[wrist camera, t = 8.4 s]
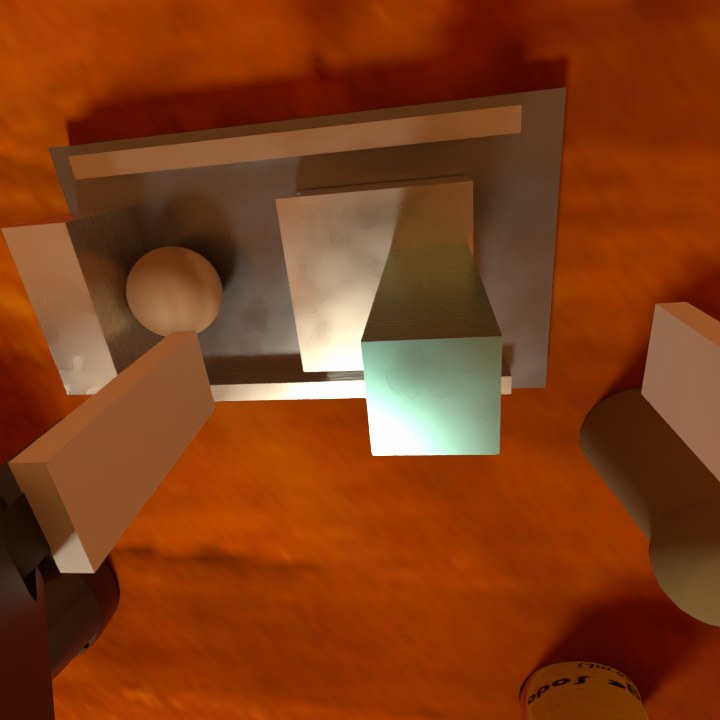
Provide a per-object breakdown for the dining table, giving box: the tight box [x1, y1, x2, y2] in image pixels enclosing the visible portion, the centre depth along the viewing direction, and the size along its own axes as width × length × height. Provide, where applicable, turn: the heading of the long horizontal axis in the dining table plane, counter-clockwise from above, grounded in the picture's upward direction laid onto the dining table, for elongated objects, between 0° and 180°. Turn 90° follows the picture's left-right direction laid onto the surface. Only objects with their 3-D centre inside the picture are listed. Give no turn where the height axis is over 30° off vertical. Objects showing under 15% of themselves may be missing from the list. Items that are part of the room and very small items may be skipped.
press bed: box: [1, 87, 566, 401], centre depth 23 cm, size 24×14×6 cm, turn 95°
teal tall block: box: [275, 175, 502, 455], centre depth 18 cm, size 8×8×13 cm
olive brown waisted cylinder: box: [580, 388, 720, 626], centre depth 23 cm, size 6×6×11 cm
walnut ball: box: [126, 247, 223, 336], centre depth 23 cm, size 4×4×4 cm
